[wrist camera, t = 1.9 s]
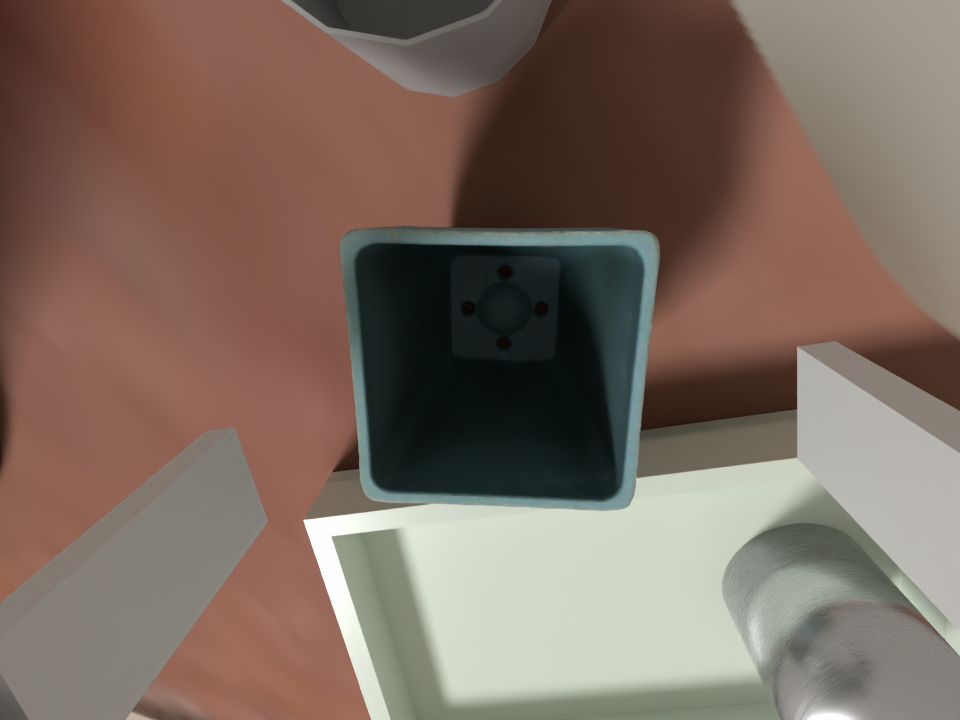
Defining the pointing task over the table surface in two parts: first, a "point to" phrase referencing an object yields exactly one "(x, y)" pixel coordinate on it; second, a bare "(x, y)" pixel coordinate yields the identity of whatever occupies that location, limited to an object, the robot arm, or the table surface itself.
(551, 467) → the flower pot
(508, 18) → the cup
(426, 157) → the table surface
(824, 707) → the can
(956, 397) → the table surface
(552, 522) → the shallow serving tray
